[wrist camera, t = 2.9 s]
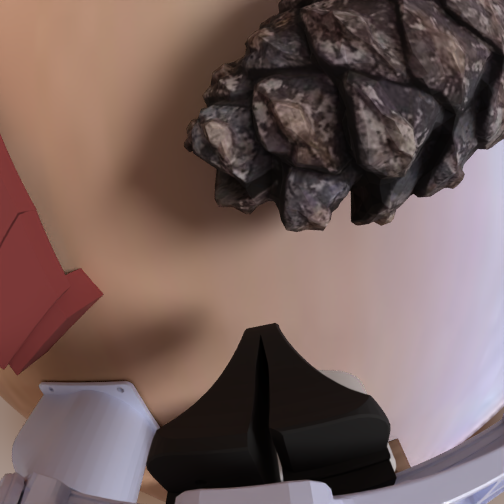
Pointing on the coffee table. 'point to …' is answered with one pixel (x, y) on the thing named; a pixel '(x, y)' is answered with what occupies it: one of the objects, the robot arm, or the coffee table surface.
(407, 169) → the pine cone
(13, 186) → the carton
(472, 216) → the coffee table surface
